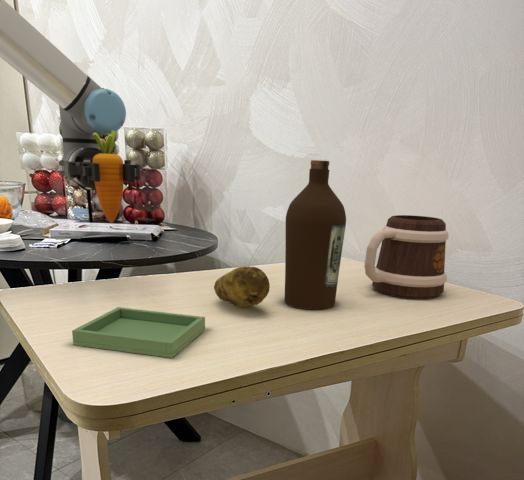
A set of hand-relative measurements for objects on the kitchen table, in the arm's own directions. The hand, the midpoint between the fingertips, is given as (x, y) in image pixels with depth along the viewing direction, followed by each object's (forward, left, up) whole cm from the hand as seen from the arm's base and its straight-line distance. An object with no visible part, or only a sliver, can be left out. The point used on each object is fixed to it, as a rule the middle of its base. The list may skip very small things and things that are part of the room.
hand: (114, 173), depth 84 cm
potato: (+20, +5, -22) cm, 30 cm away
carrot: (-3, +4, -9) cm, 10 cm away
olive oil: (+31, +13, -22) cm, 40 cm away
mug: (+47, +29, -22) cm, 60 cm away
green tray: (+11, -15, -22) cm, 29 cm away
